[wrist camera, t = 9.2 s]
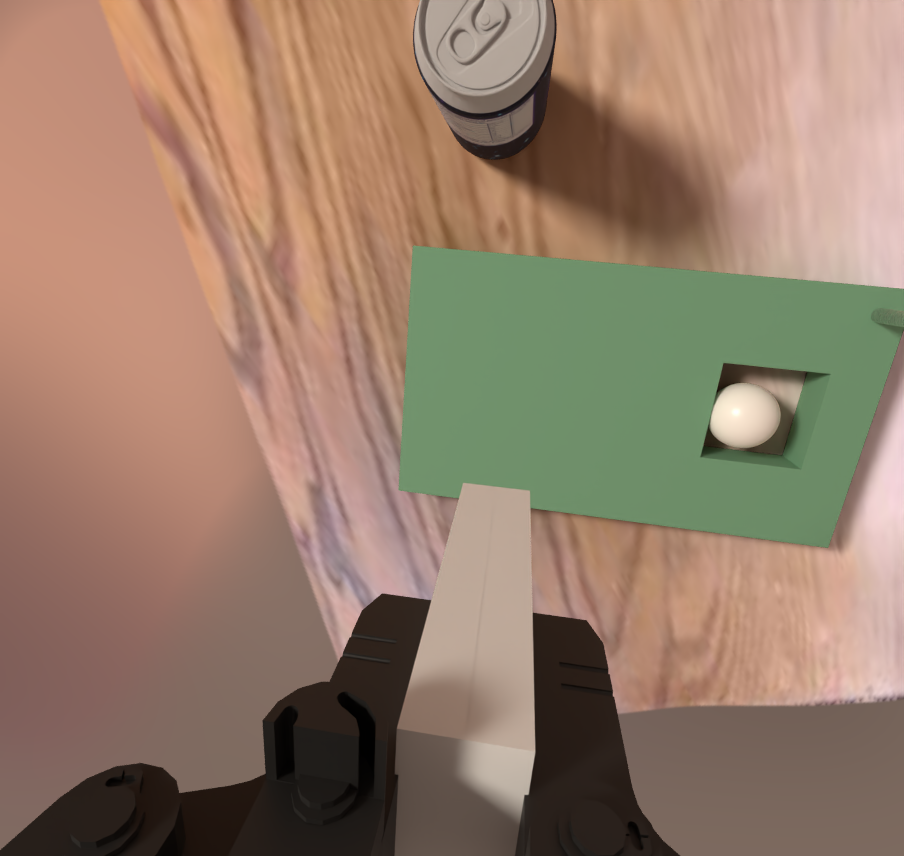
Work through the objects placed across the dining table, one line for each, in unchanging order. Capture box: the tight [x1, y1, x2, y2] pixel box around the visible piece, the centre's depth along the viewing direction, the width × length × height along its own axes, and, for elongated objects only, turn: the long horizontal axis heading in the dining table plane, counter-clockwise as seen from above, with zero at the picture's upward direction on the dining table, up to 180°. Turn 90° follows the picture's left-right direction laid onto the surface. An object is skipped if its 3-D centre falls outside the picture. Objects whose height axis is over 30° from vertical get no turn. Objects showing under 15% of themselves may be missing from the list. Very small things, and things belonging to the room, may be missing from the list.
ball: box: [708, 383, 781, 448], centre depth 33 cm, size 4×4×4 cm
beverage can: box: [413, 0, 556, 160], centre depth 25 cm, size 6×6×12 cm
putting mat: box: [399, 246, 904, 548], centre depth 34 cm, size 16×28×2 cm, turn 85°
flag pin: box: [871, 308, 904, 327], centre depth 25 cm, size 1×4×14 cm, turn 85°
